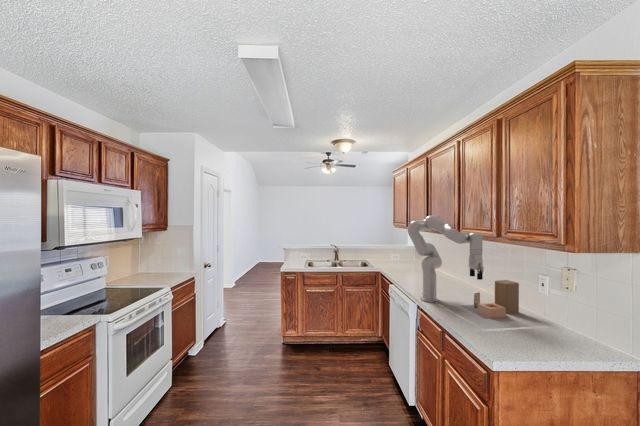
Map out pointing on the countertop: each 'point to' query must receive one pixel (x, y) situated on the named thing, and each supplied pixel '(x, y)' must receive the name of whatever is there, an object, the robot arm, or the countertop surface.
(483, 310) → the terracotta box
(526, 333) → the countertop surface
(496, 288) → the wooden block
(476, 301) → the birch dowel
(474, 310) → the charcoal mat
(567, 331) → the countertop surface
